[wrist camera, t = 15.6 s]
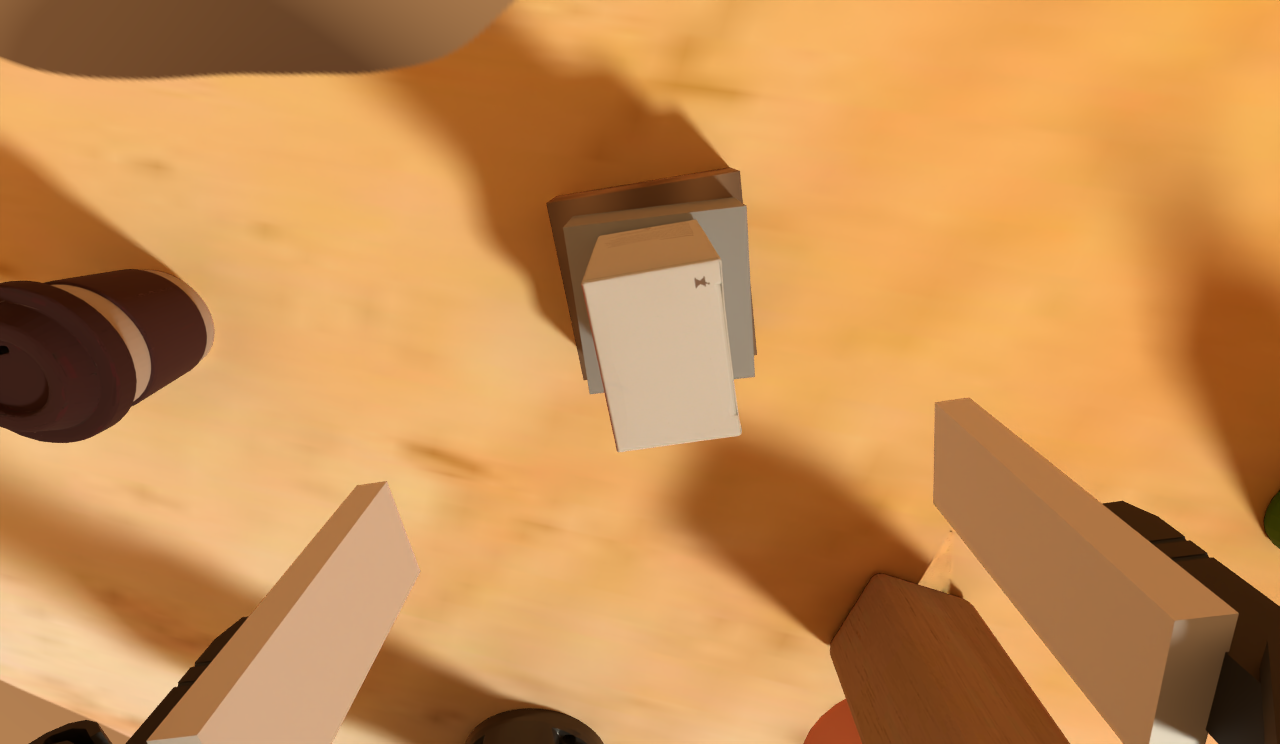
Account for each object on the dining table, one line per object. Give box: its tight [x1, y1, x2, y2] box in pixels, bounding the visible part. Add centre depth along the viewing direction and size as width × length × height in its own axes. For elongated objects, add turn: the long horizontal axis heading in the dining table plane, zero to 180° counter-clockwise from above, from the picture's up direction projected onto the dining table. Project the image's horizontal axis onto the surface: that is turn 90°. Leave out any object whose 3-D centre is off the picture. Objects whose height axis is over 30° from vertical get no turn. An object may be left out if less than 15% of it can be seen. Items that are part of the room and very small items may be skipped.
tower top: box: [563, 197, 755, 394], centre depth 36 cm, size 10×10×5 cm
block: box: [830, 574, 1070, 744], centre depth 46 cm, size 10×10×20 cm
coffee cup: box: [0, 269, 214, 443], centre depth 40 cm, size 10×10×15 cm
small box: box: [581, 220, 742, 452], centre depth 29 cm, size 8×6×10 cm
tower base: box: [547, 167, 757, 380], centre depth 41 cm, size 12×12×5 cm
